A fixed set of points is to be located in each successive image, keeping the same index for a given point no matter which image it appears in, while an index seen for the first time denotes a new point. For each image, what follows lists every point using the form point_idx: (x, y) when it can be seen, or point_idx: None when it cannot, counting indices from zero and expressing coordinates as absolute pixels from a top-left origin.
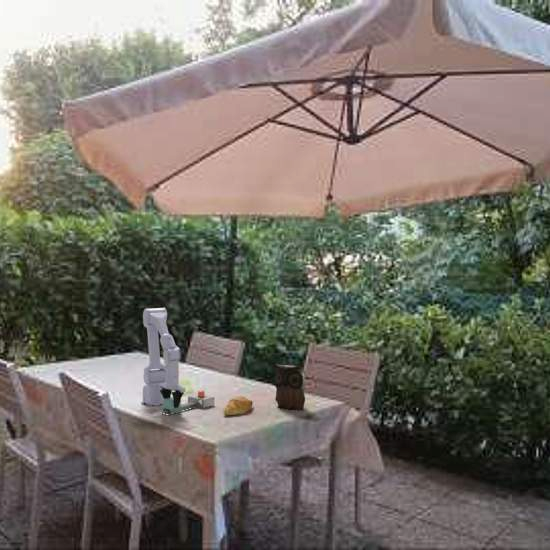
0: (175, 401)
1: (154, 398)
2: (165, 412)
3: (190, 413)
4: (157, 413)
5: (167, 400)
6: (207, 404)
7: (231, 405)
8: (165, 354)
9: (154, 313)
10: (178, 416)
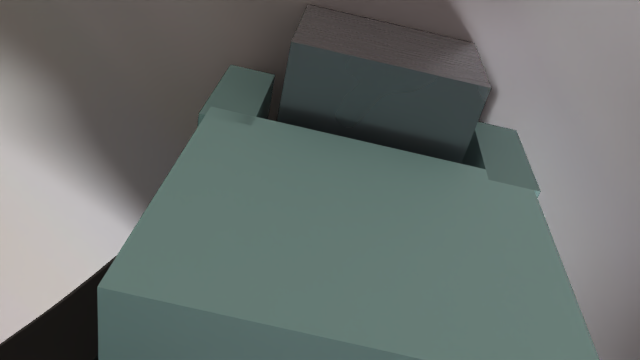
0: (11, 340)
1: None
2: (368, 39)
3: (47, 299)
4: (631, 49)
5: (323, 321)
6: None
7: None
8: None
9: None
10: (40, 44)
